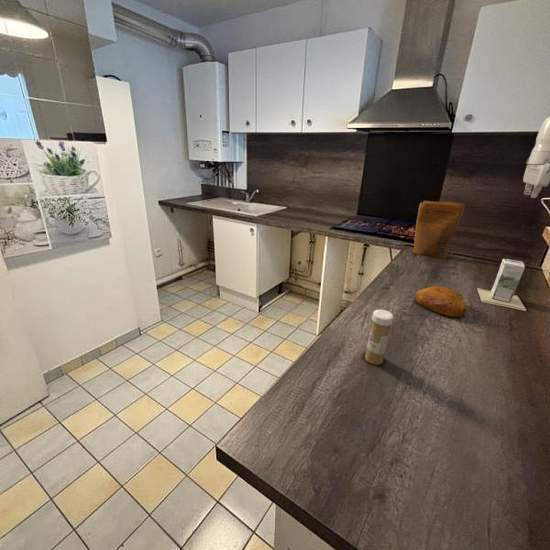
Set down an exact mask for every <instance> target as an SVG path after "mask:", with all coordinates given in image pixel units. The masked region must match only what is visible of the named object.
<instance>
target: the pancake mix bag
mask: <svg viewBox="0 0 550 550" xmlns="http://www.w3.org/2000/svg"><path fill="white" fill-rule="evenodd" d="M465 207H466V204H464V203H461V202H451V201H434V200H433V201H432V200H423V201H422V202H420V203H419V206H418V211H417V216H416V224H415V233H414V243H413V249H412V251H411V252H412V253H414V254H416V255H418V256H423V257H428V258H429V257H430V258H435V259H439V260H441V259H443V260H445V259H447V258H448V250H449V247H450V244H452V239H453V236H454V234H455V232H456V230H457V228H458V226H459V222H460V220H461V217H462V216H463V213H464V210H465Z"/></svg>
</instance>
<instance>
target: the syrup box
mask: <svg viewBox="0 0 550 550" xmlns="http://www.w3.org/2000/svg"><path fill="white" fill-rule="evenodd" d="M525 268H526V267H525V263H524V262H523V261H521V260H516V259H508V258H503V259H502V261H501V263H500V265H499V269H498V272H497V274H496V276H495V279H494V281H493V284H492V287H491V298H492V299H495V300H499V301H503V302H508V303H510V302H511V300H512V297H513V295H515V293H516V290H517V287H518V285H519V283H520V280H521V278H522V276H523V273H524V271H525Z"/></svg>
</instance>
